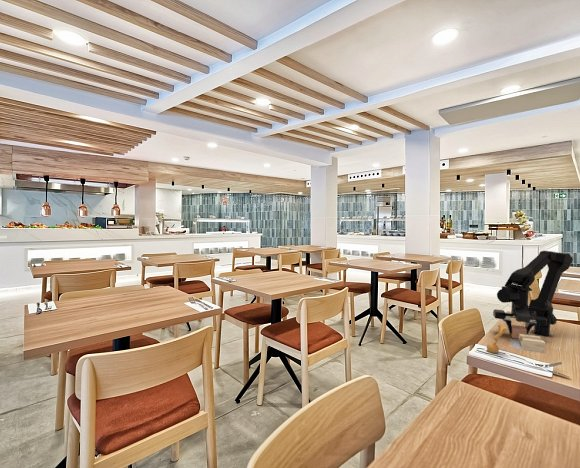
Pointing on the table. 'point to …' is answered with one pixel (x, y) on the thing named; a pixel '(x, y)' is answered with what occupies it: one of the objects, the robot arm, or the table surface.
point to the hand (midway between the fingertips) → (517, 335)
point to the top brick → (518, 331)
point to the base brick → (531, 343)
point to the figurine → (492, 346)
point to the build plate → (517, 346)
